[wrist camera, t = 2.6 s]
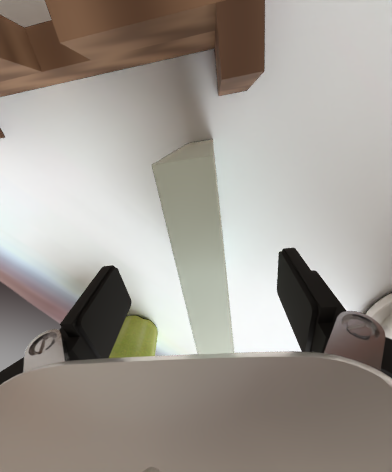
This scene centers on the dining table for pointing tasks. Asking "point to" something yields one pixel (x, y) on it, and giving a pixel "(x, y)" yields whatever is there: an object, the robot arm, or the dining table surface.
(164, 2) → the walnut slot rail
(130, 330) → the plant pot
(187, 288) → the sage slot plate
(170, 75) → the dining table surface
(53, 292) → the dining table surface
